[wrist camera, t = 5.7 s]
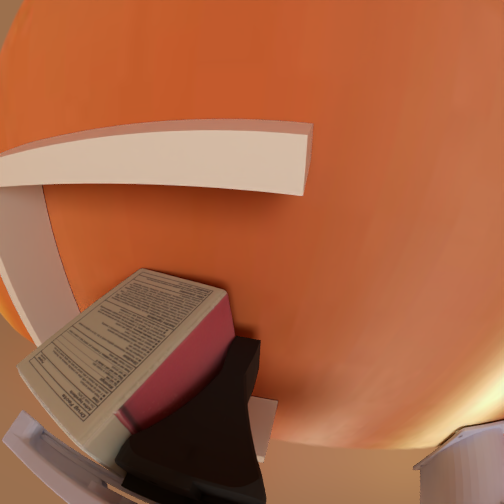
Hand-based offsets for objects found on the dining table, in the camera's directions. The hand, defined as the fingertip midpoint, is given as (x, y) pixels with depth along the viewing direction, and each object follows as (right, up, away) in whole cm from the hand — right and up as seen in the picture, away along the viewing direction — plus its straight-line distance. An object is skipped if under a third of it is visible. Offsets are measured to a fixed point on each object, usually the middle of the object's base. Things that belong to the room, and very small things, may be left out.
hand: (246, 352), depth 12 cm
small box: (-2, +2, +1) cm, 3 cm away
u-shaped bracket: (-5, +2, +2) cm, 6 cm away
